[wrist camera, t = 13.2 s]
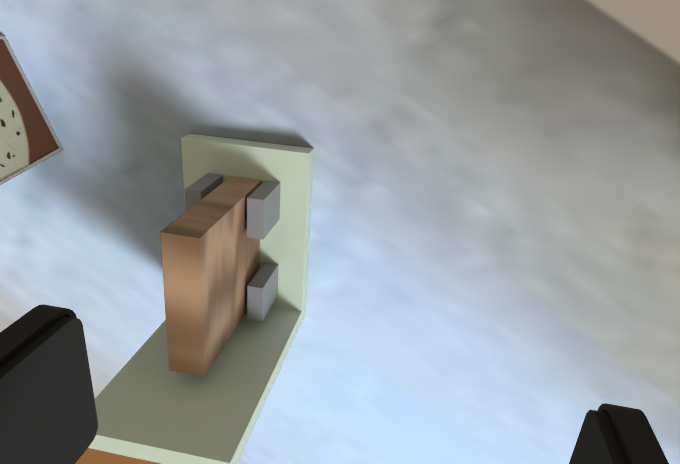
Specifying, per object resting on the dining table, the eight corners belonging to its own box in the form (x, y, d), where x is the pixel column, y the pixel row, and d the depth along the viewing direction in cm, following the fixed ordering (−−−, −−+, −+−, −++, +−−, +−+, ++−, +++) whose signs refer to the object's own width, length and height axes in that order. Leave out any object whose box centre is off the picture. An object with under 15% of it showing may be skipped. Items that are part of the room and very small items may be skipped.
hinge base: (189, 133, 41) (27, 214, 25) (313, 148, 39) (224, 244, 24) (197, 297, 47) (71, 445, 31) (305, 315, 45) (230, 480, 30)
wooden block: (224, 174, 40) (150, 230, 30) (261, 180, 39) (199, 238, 30) (224, 287, 44) (160, 368, 34) (258, 292, 44) (203, 377, 34)
